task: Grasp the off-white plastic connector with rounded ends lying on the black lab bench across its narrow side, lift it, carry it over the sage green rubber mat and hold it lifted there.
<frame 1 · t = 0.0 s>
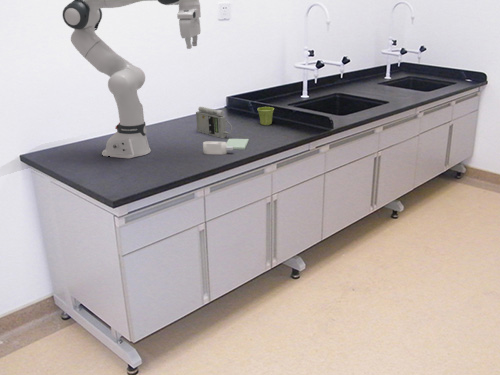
hand: (192, 47, 212), 48 cm above the table, tool pointing down, fingers open, 8 cm apart
connector: (215, 153, 231), on the table
geiger counter: (215, 135, 259), on the table
plant pot: (265, 124, 277), on the table
green mat: (236, 144, 242), on the table
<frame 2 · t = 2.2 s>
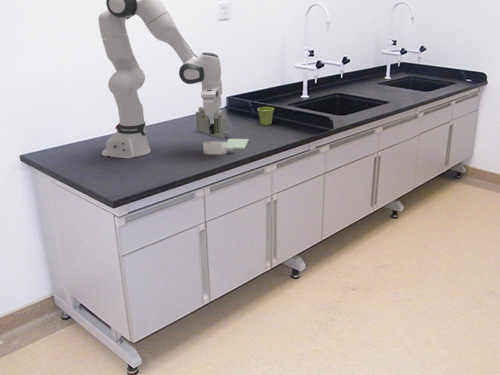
hand: (214, 120, 225), 15 cm above the table, tool pointing down, fingers open, 8 cm apart
nothing on the table moved.
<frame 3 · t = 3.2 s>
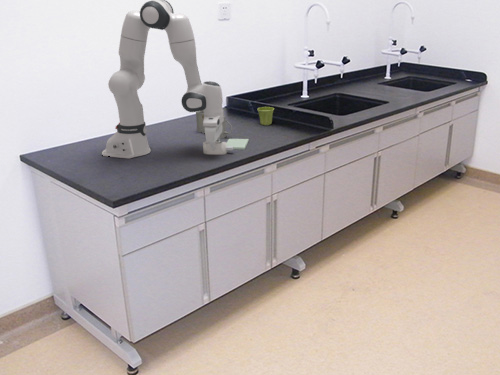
hand: (215, 147, 230), 3 cm above the table, tool pointing down, fingers open, 8 cm apart
nothing on the table moved.
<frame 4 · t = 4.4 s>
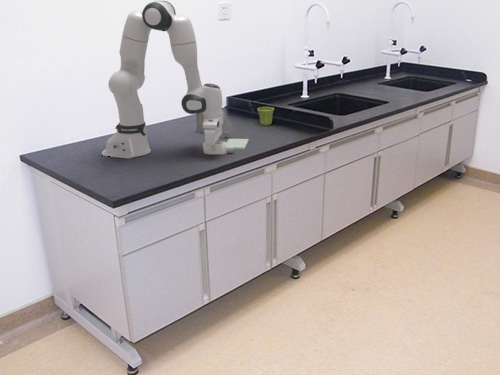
hand: (214, 149, 230), 2 cm above the table, tool pointing down, fingers closed on connector, 4 cm apart
connector: (215, 152, 231), on the table, touching gripper
everything else where it was.
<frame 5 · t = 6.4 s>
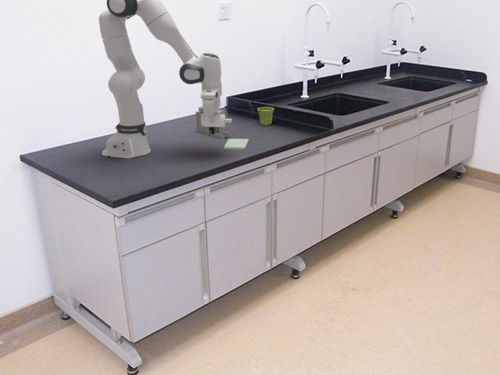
hand: (213, 121, 225), 15 cm above the table, tool pointing down, fingers closed on connector, 4 cm apart
connector: (213, 125, 226), point 13 cm above the table, touching gripper
everything else where it was.
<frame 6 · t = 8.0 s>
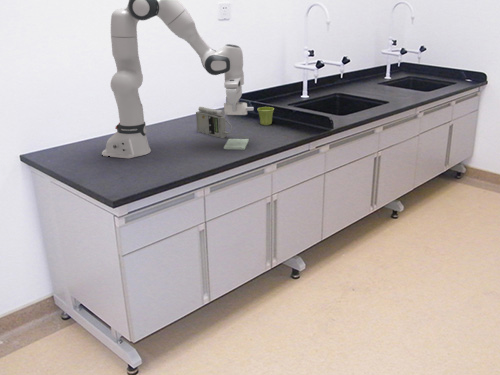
hand: (235, 109, 235), 17 cm above the table, tool pointing down, fingers closed on connector, 4 cm apart
connector: (235, 113, 236), point 16 cm above the table, touching gripper
everything else where it was.
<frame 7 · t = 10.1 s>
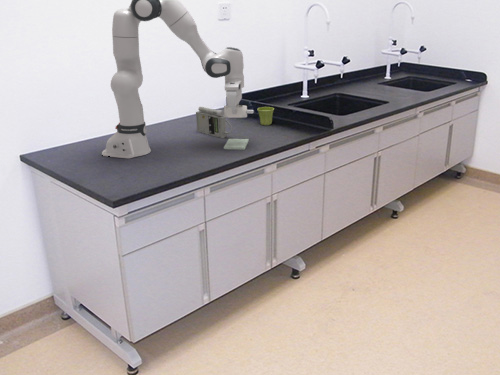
hand: (235, 112, 236), 16 cm above the table, tool pointing down, fingers closed on connector, 4 cm apart
connector: (235, 116, 236), point 14 cm above the table, touching gripper
everything else where it was.
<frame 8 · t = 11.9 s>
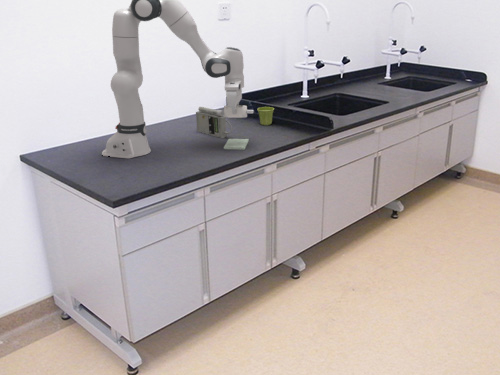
hand: (235, 112, 236), 16 cm above the table, tool pointing down, fingers closed on connector, 4 cm apart
connector: (235, 116, 236), point 14 cm above the table, touching gripper
everything else where it was.
at the end: the gripper is holding connector; connector point 14.2 cm above the table; connector inside the target area on the green mat (0.0 cm from its centre), point 14.2 cm above the green mat's base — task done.
